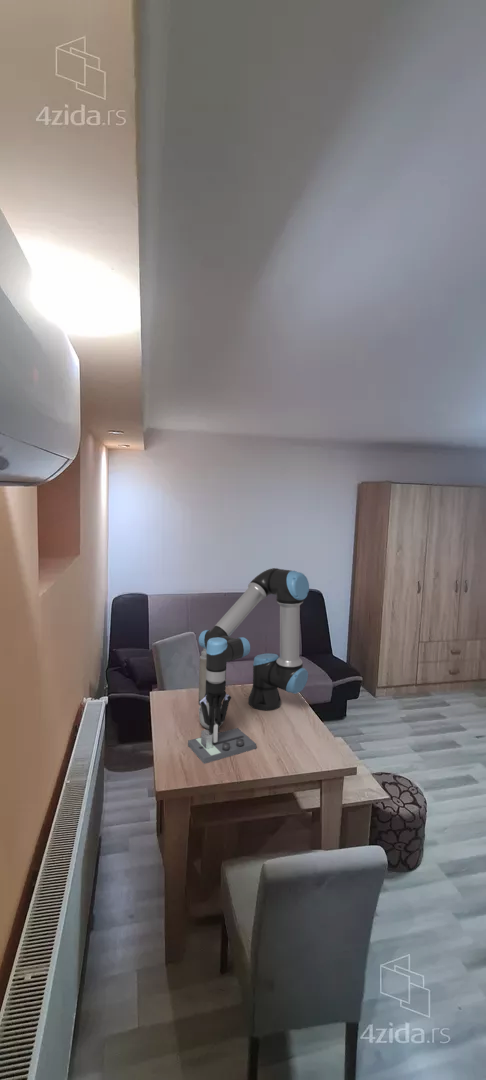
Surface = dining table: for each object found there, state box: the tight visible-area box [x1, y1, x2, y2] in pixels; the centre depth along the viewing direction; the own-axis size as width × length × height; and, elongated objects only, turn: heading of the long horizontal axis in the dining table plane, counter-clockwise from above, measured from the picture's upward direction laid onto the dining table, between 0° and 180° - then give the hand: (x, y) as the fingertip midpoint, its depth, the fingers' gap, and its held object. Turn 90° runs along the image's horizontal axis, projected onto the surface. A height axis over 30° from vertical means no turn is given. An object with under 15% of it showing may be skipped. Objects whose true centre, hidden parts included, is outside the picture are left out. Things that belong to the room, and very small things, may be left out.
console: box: [187, 727, 257, 765], centre depth 176 cm, size 22×14×4 cm, turn 121°
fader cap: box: [200, 729, 212, 749], centre depth 173 cm, size 2×4×5 cm, turn 31°
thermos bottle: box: [198, 647, 208, 707], centre depth 213 cm, size 8×8×28 cm
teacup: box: [198, 703, 224, 730], centre depth 194 cm, size 14×11×8 cm
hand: (214, 740), depth 174 cm, fingers closed
